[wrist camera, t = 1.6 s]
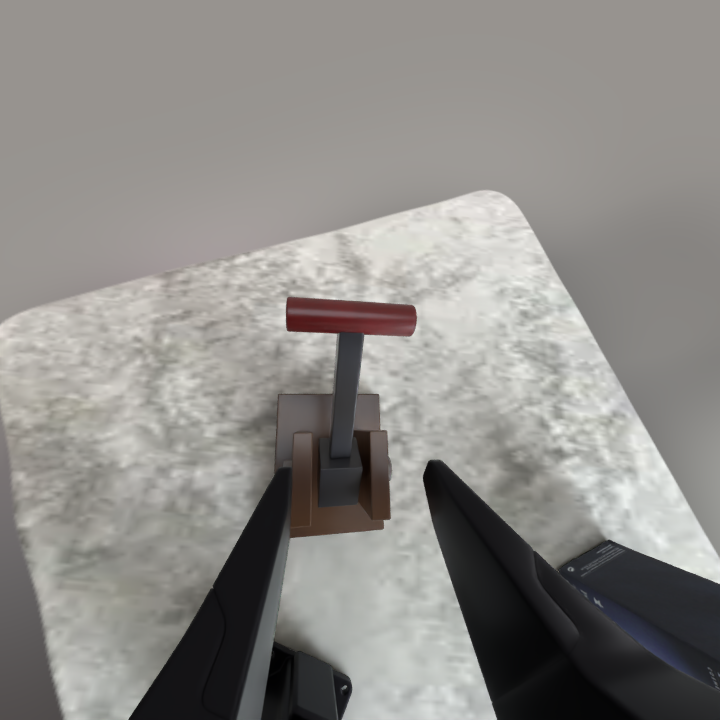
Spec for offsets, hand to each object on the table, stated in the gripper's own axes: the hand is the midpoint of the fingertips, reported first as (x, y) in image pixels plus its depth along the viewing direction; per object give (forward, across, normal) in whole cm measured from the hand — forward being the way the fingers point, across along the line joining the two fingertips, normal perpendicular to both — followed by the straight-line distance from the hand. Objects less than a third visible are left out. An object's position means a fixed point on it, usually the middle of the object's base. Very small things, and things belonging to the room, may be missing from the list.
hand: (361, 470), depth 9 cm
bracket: (+9, 0, +10) cm, 14 cm away
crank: (+6, 0, +2) cm, 6 cm away
